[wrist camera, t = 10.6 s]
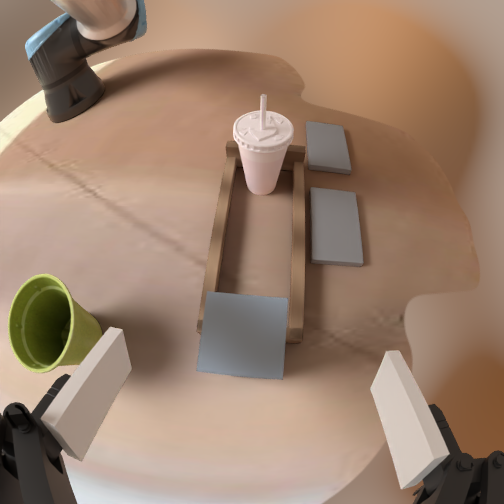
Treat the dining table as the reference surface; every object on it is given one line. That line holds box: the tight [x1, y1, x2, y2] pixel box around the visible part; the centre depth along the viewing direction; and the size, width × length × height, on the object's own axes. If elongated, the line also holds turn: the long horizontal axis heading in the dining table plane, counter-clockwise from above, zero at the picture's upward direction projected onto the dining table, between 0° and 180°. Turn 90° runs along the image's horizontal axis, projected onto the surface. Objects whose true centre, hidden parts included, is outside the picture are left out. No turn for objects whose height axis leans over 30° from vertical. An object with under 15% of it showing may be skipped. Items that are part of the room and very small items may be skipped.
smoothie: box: [233, 94, 294, 195], centre depth 29 cm, size 6×6×14 cm
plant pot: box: [8, 274, 103, 373], centre depth 23 cm, size 9×9×9 cm
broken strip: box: [306, 121, 363, 267], centre depth 35 cm, size 24×6×1 cm, turn 175°
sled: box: [197, 141, 305, 380], centre depth 24 cm, size 27×10×15 cm, turn 175°
